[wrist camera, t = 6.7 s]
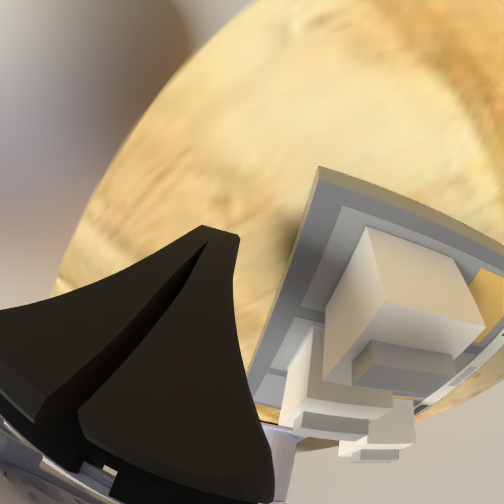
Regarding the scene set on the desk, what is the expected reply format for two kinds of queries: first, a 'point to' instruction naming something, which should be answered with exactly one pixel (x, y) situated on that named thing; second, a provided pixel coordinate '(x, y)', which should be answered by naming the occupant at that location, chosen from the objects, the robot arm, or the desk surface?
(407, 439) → the tab
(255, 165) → the desk surface
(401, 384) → the tab
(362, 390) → the tab
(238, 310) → the desk surface
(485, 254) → the switch panel
